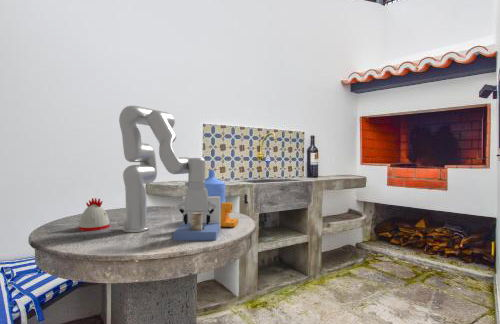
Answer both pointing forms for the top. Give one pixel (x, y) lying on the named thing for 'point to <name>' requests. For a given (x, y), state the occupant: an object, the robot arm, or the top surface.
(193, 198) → the robot arm
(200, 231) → the blue base grey panel
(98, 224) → the cream red beanie hat
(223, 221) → the bracket
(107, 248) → the top surface
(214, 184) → the water jug
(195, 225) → the tan wooden pillar
